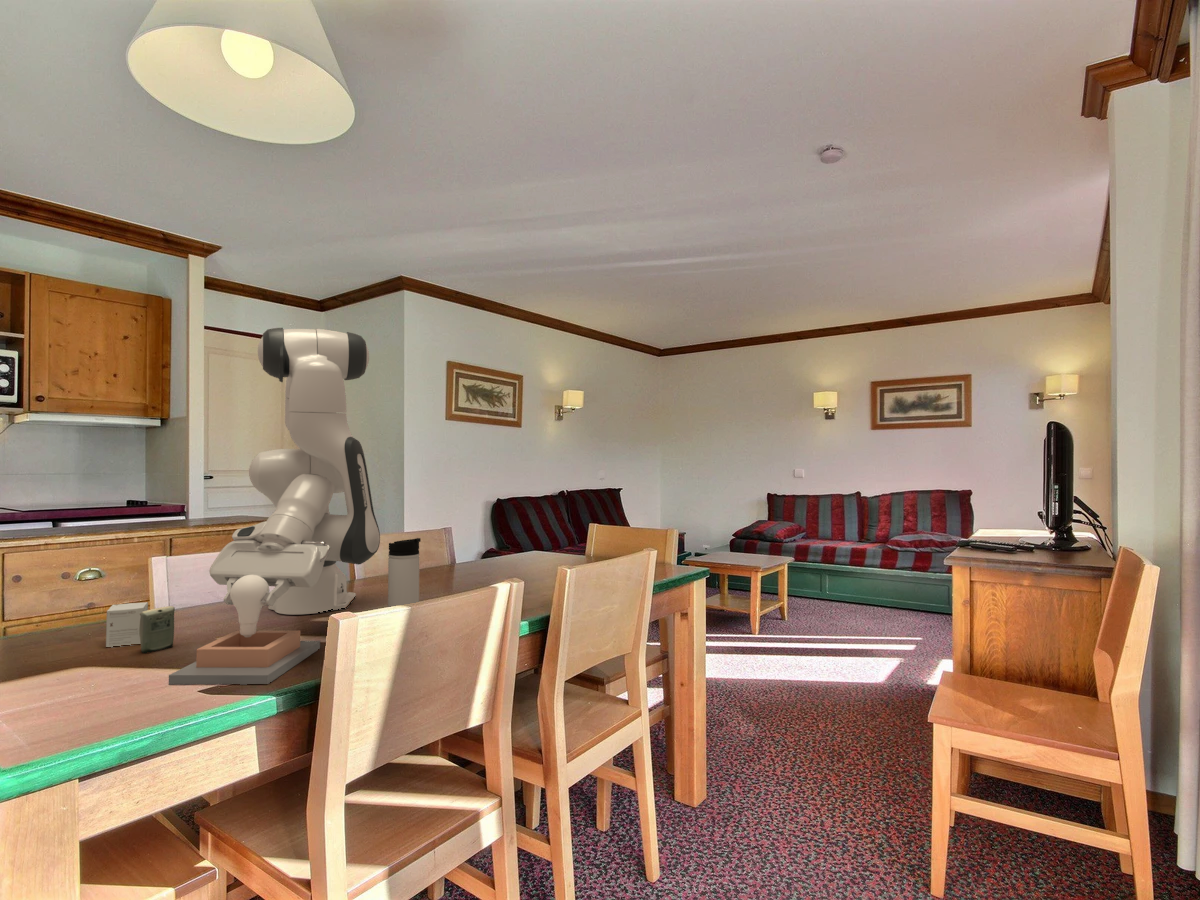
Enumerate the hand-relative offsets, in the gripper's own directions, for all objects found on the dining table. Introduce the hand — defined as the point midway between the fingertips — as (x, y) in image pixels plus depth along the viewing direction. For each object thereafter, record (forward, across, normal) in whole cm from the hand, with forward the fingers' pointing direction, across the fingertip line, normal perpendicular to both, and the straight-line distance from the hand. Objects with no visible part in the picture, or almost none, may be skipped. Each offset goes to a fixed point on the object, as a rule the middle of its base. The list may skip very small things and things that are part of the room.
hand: (247, 603), depth 114 cm
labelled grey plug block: (+4, +24, -12) cm, 27 cm away
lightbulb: (+4, 0, -5) cm, 6 cm away
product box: (+1, +34, -15) cm, 37 cm away
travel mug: (-10, -17, -26) cm, 33 cm away
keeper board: (+7, 0, -9) cm, 11 cm away
